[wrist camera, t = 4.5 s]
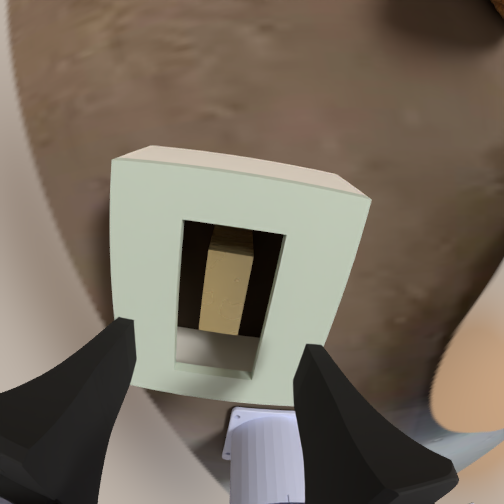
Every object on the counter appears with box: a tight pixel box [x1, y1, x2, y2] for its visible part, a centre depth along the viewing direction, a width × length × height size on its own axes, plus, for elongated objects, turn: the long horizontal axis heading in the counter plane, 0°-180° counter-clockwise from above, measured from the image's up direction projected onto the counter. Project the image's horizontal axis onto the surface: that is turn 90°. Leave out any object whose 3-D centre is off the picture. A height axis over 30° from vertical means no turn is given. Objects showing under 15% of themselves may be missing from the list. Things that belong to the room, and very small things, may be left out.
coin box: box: [110, 145, 371, 406], centre depth 16 cm, size 12×10×5 cm
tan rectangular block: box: [199, 224, 254, 335], centre depth 17 cm, size 4×2×4 cm, turn 170°
